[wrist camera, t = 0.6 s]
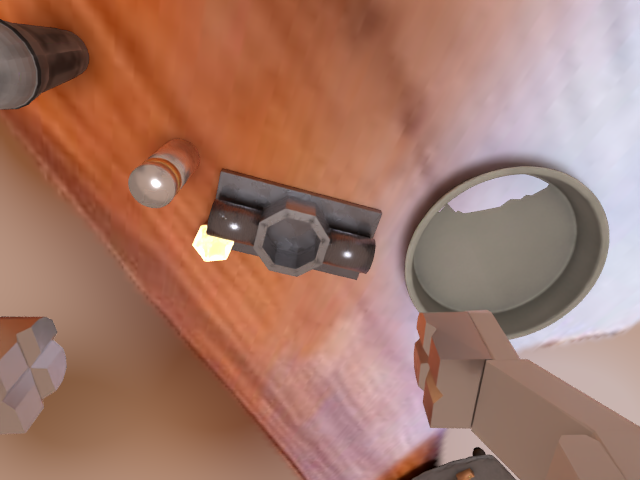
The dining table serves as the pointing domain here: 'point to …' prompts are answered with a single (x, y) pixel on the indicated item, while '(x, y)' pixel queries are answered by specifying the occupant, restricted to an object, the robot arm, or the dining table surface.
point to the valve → (164, 173)
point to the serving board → (469, 469)
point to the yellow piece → (211, 245)
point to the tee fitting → (293, 226)
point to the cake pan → (510, 253)
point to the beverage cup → (36, 61)
